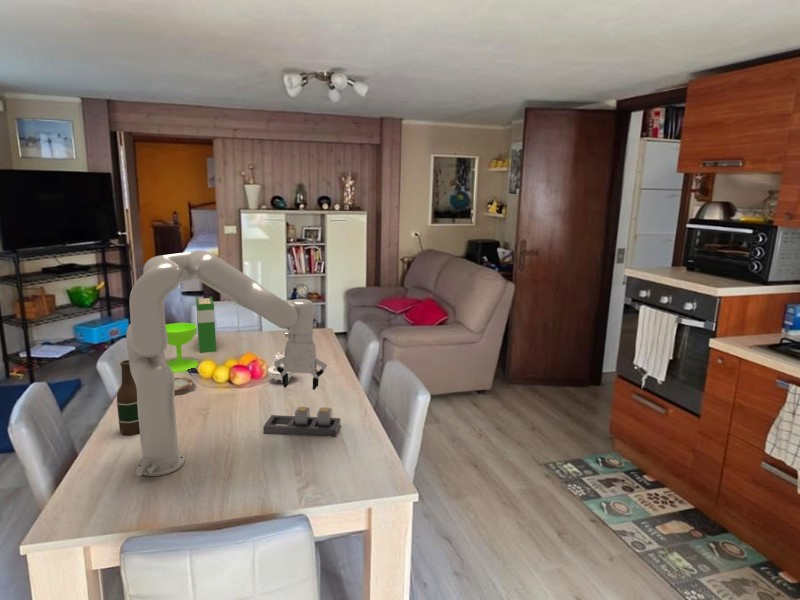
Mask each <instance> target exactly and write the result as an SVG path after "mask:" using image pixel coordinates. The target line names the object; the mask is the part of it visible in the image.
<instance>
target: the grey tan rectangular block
mask: <svg viewBox="0 0 800 600" xmlns="http://www.w3.org/2000/svg"><path fill="white" fill-rule="evenodd" d="M332 411H333V410H332V408H330V407H324V406H322V407H319V408H318V412H317V416H316V417H318V427H325V428H332V427H333V426H332V418H333V417H332V416H333V414H332V413H333V412H332Z"/></svg>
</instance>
